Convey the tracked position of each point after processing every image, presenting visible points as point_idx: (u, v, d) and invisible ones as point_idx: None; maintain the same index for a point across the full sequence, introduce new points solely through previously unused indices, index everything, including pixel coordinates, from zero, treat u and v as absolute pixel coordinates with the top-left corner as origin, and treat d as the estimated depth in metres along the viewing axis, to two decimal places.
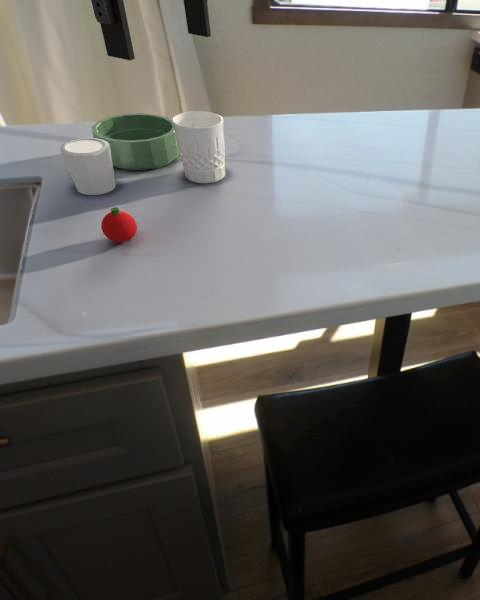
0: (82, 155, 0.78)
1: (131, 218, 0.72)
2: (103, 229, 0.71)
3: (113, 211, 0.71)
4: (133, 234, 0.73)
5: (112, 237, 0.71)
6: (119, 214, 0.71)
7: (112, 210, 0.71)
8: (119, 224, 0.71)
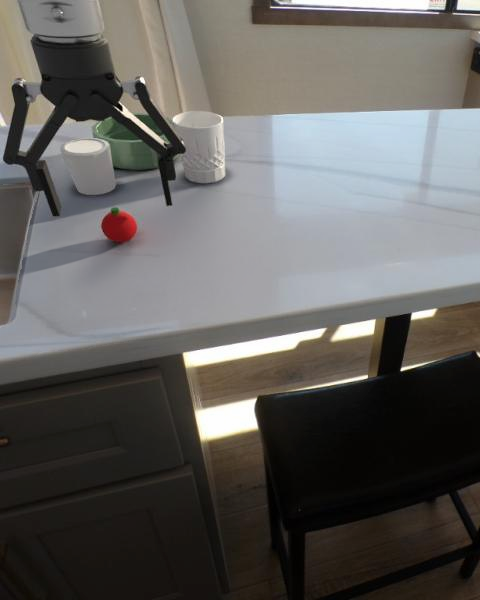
0: (82, 155, 0.78)
1: (131, 218, 0.72)
2: (103, 229, 0.71)
3: (113, 211, 0.71)
4: (133, 234, 0.73)
5: (112, 237, 0.71)
6: (119, 214, 0.71)
7: (112, 210, 0.71)
8: (119, 224, 0.71)
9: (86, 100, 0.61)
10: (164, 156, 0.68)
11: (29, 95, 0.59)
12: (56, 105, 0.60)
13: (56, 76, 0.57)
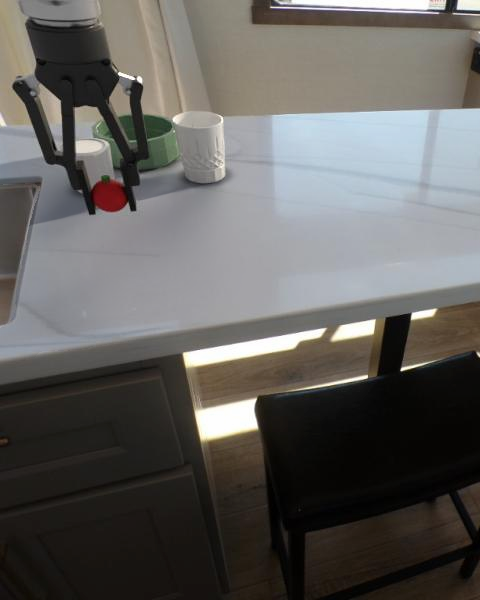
0: (82, 155, 0.78)
1: (122, 187, 0.69)
2: (93, 197, 0.68)
3: (103, 179, 0.68)
4: (124, 204, 0.70)
5: (103, 206, 0.68)
6: (109, 182, 0.68)
7: (102, 178, 0.68)
8: (109, 192, 0.68)
9: (81, 86, 0.60)
10: (126, 160, 0.67)
11: (31, 89, 0.59)
12: (59, 96, 0.60)
13: (51, 60, 0.56)
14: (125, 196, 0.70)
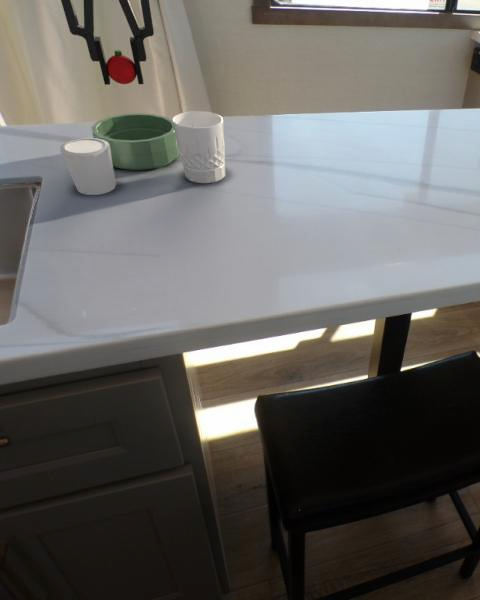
0: (82, 155, 0.78)
1: (132, 62, 0.84)
2: (108, 68, 0.83)
3: (116, 52, 0.83)
4: (133, 76, 0.85)
5: (116, 75, 0.83)
6: (121, 56, 0.83)
7: (115, 51, 0.83)
8: (121, 64, 0.83)
9: None
10: (135, 36, 0.81)
11: None
12: None
13: None
14: (134, 69, 0.84)
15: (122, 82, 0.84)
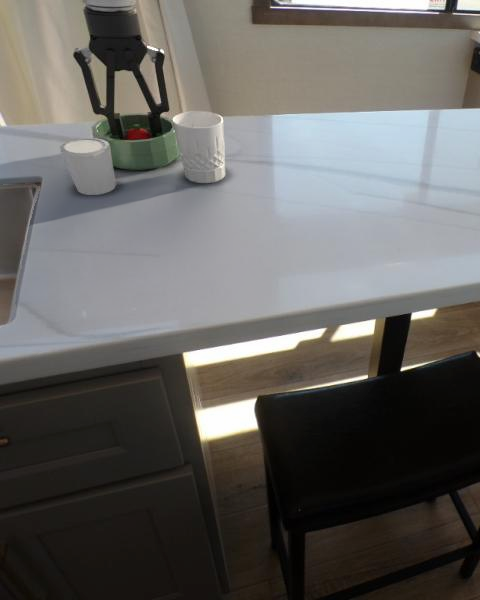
0: (82, 155, 0.78)
1: (148, 134, 0.93)
2: None
3: (135, 126, 0.91)
4: None
5: None
6: (139, 130, 0.92)
7: (134, 126, 0.91)
8: (139, 137, 0.91)
9: (121, 55, 0.84)
10: (153, 112, 0.90)
11: (86, 57, 0.82)
12: (105, 63, 0.84)
13: (101, 36, 0.79)
14: None
15: None
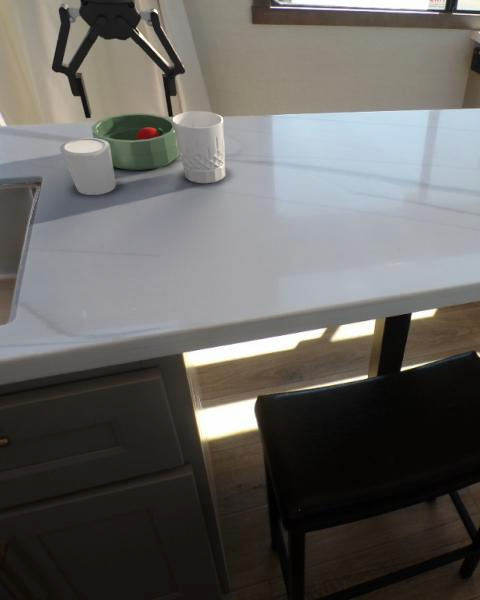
0: (82, 155, 0.78)
1: None
2: (143, 133, 0.92)
3: (160, 130, 0.93)
4: None
5: None
6: (160, 134, 0.94)
7: (159, 129, 0.93)
8: None
9: (112, 22, 0.81)
10: (168, 74, 0.88)
11: (71, 17, 0.79)
12: (91, 25, 0.80)
13: (92, 0, 0.76)
14: None
15: None
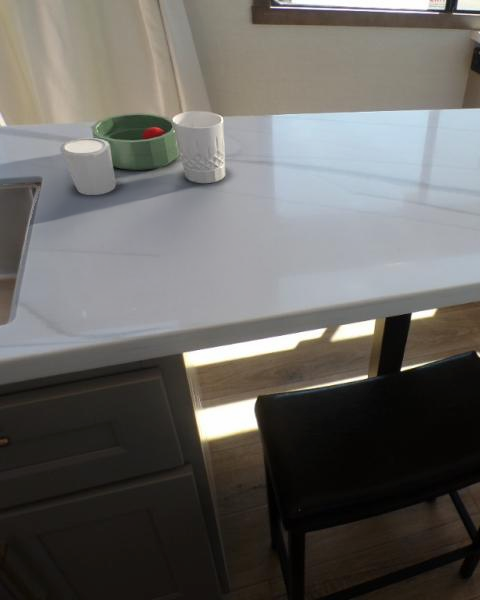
0: (82, 155, 0.78)
1: None
2: (152, 131, 0.92)
3: None
4: None
5: None
6: None
7: None
8: None
9: None
10: None
11: None
12: None
13: None
14: None
15: None
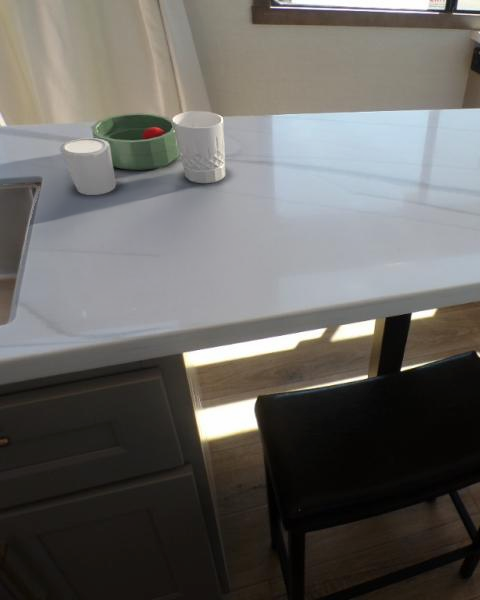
0: (82, 155, 0.78)
1: None
2: (152, 131, 0.92)
3: None
4: None
5: None
6: None
7: None
8: None
9: None
10: None
11: None
12: None
13: None
14: None
15: None
